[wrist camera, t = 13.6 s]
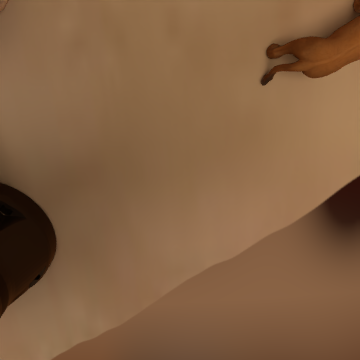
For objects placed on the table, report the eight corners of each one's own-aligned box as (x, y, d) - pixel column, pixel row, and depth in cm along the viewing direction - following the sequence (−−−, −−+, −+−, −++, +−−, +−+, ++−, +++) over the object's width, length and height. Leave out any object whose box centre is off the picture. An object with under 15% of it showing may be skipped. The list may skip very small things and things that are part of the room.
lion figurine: (400, -56, 27) (487, -82, 19) (425, 3, 29) (513, 1, 21) (246, 61, 32) (264, 79, 24) (275, 106, 34) (302, 137, 26)
